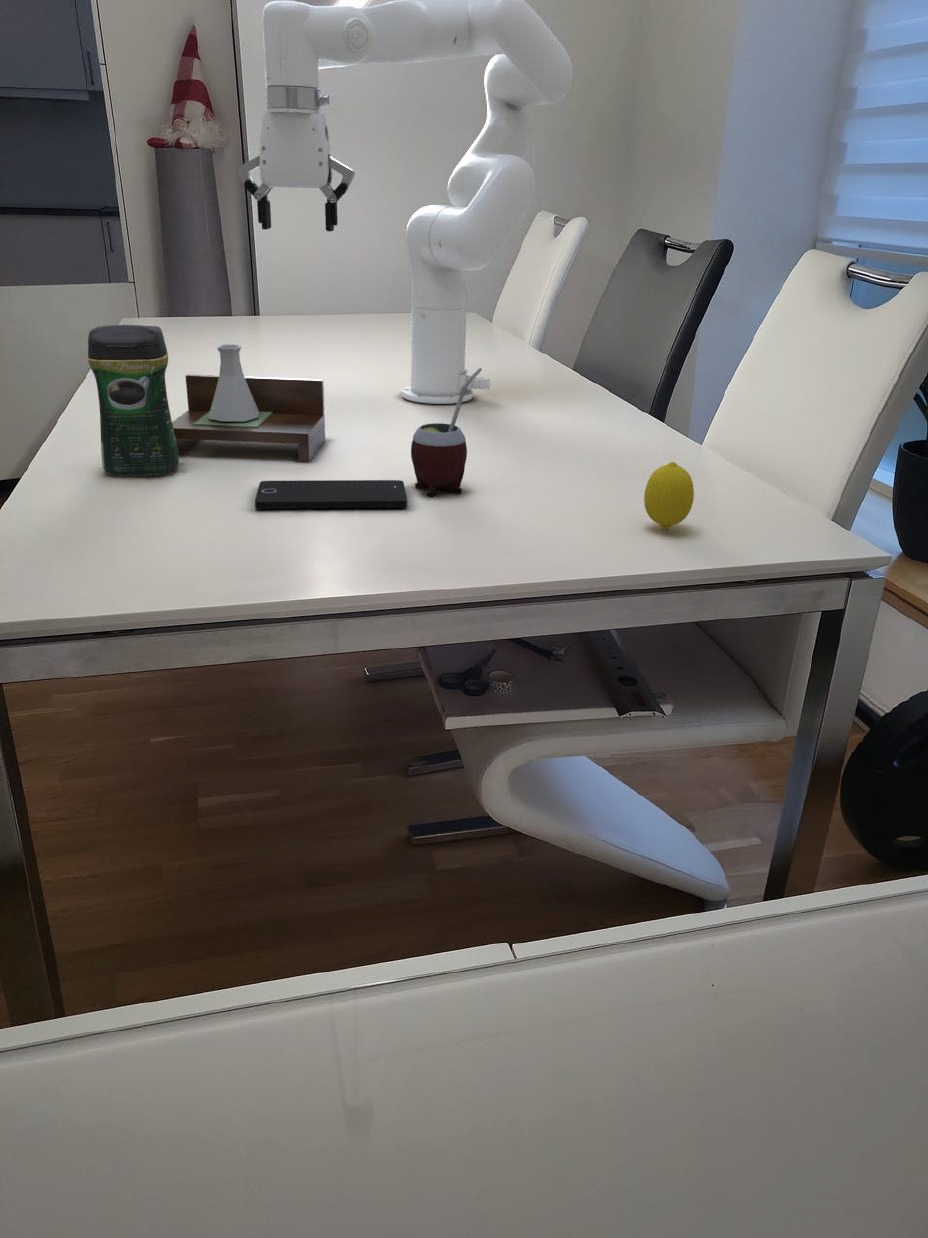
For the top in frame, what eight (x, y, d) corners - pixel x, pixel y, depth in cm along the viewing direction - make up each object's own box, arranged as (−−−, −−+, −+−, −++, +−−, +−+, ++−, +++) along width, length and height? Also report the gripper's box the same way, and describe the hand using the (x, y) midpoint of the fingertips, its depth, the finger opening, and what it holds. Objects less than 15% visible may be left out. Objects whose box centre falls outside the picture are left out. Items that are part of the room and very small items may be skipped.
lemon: (635, 521, 119) (642, 455, 116) (681, 521, 119) (689, 455, 116) (647, 537, 114) (655, 468, 111) (695, 537, 114) (704, 468, 111)
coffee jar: (183, 461, 137) (169, 320, 130) (175, 477, 130) (160, 330, 122) (109, 462, 136) (91, 320, 128) (97, 478, 129) (78, 329, 121)
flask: (248, 425, 139) (243, 351, 135) (199, 421, 141) (193, 348, 136) (267, 413, 146) (263, 343, 142) (220, 410, 147) (215, 340, 143)
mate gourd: (402, 493, 126) (402, 373, 120) (425, 477, 133) (427, 362, 127) (457, 501, 124) (460, 379, 118) (478, 484, 131) (482, 367, 125)
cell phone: (260, 487, 127) (260, 480, 126) (403, 486, 129) (403, 479, 128) (254, 509, 119) (254, 501, 118) (407, 508, 121) (407, 500, 120)
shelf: (325, 440, 149) (323, 379, 146) (309, 462, 139) (306, 396, 135) (192, 435, 150) (187, 374, 147) (166, 456, 139) (160, 391, 136)
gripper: (356, 105, 148) (359, 230, 155) (240, 102, 148) (247, 226, 155) (348, 102, 141) (351, 233, 148) (226, 99, 142) (235, 229, 149)
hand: (298, 229), depth 152 cm, fingers open, 9 cm apart
